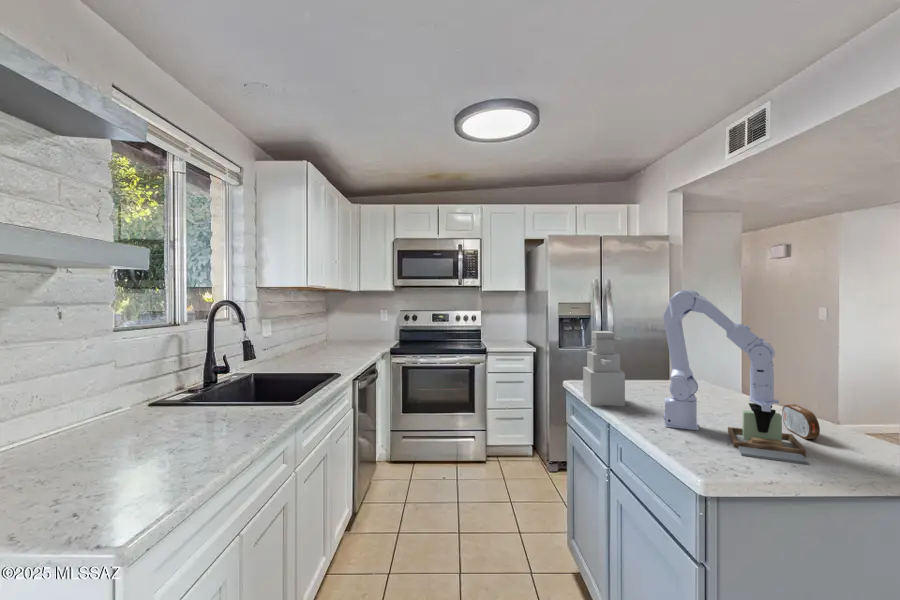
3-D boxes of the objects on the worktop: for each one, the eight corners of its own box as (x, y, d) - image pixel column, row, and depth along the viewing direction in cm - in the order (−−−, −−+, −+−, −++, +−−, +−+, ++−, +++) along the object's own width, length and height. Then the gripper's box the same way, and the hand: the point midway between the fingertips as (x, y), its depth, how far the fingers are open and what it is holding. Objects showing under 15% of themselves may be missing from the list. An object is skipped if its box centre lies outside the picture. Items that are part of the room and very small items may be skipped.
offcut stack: (748, 446, 124) (748, 439, 124) (747, 443, 126) (747, 436, 126) (783, 450, 121) (783, 443, 120) (781, 447, 123) (781, 440, 123)
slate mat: (741, 455, 116) (741, 453, 116) (738, 448, 121) (738, 446, 121) (807, 464, 110) (807, 462, 110) (801, 456, 115) (801, 454, 115)
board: (744, 439, 129) (744, 412, 129) (742, 436, 131) (742, 410, 131) (781, 444, 125) (781, 416, 125) (779, 440, 127) (779, 413, 127)
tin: (821, 443, 125) (821, 414, 125) (808, 442, 125) (808, 413, 125) (791, 427, 139) (791, 401, 139) (780, 427, 140) (780, 400, 140)
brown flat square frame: (733, 447, 122) (733, 441, 122) (727, 431, 136) (727, 427, 136) (805, 456, 115) (805, 450, 115) (791, 439, 128) (791, 434, 128)
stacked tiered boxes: (610, 394, 186) (610, 329, 186) (629, 409, 163) (629, 334, 162) (580, 394, 187) (579, 329, 187) (593, 409, 164) (593, 334, 163)
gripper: (784, 390, 120) (784, 439, 120) (773, 380, 132) (773, 425, 133) (753, 388, 123) (753, 436, 123) (745, 378, 136) (745, 422, 136)
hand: (761, 430), depth 128 cm, fingers open, 3 cm apart
